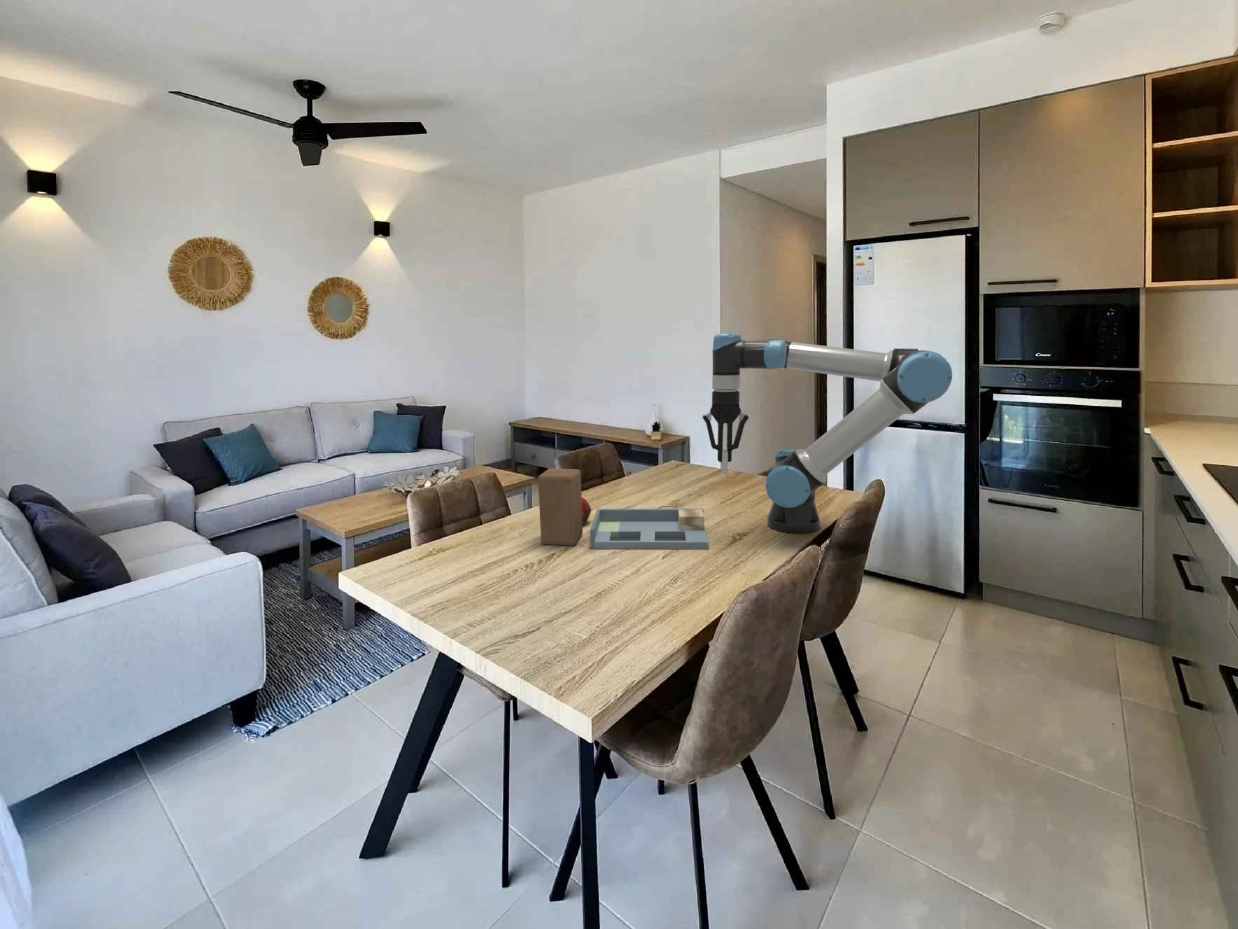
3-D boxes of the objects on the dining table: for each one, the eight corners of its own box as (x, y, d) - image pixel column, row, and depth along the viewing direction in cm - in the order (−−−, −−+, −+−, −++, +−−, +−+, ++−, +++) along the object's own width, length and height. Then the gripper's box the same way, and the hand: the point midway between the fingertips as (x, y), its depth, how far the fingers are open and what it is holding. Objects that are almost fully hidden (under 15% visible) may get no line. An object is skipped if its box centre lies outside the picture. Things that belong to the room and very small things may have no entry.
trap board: (702, 526, 182) (703, 508, 181) (708, 549, 162) (708, 529, 161) (597, 526, 184) (597, 508, 183) (590, 548, 164) (590, 529, 163)
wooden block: (574, 546, 166) (571, 476, 162) (540, 545, 168) (536, 475, 164) (583, 535, 176) (581, 468, 172) (550, 533, 178) (547, 467, 174)
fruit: (586, 517, 193) (585, 487, 191) (594, 525, 185) (593, 494, 183) (558, 520, 191) (557, 489, 189) (565, 529, 182) (564, 497, 180)
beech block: (702, 522, 179) (702, 509, 178) (703, 530, 172) (703, 516, 171) (678, 522, 179) (678, 509, 178) (679, 530, 172) (679, 516, 172)
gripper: (747, 388, 170) (745, 469, 175) (701, 389, 171) (700, 470, 176) (751, 391, 163) (749, 475, 168) (703, 391, 163) (702, 476, 168)
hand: (724, 472), depth 172 cm, fingers closed
